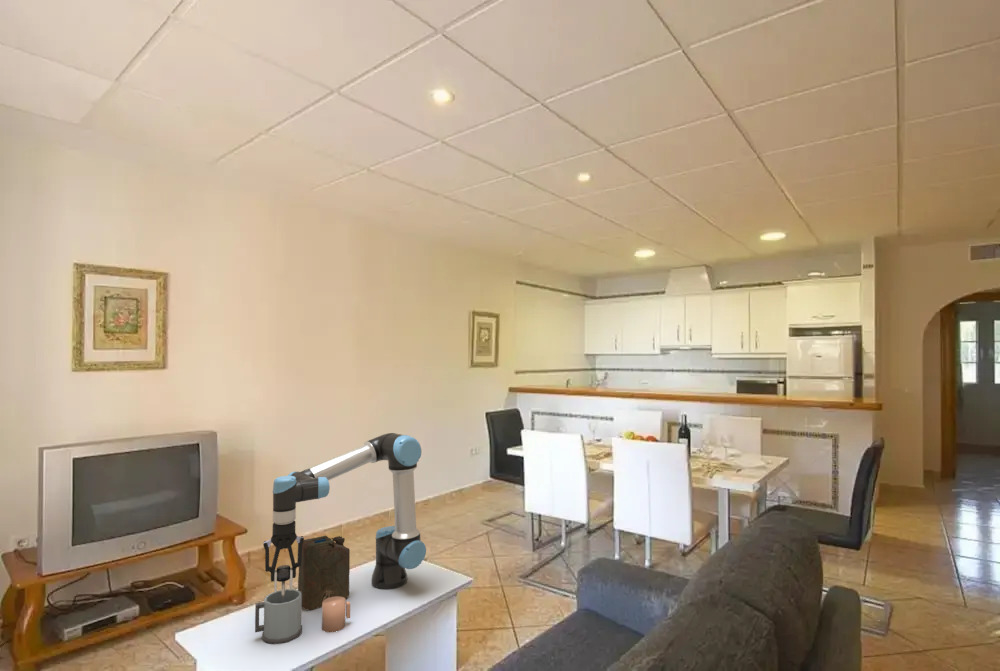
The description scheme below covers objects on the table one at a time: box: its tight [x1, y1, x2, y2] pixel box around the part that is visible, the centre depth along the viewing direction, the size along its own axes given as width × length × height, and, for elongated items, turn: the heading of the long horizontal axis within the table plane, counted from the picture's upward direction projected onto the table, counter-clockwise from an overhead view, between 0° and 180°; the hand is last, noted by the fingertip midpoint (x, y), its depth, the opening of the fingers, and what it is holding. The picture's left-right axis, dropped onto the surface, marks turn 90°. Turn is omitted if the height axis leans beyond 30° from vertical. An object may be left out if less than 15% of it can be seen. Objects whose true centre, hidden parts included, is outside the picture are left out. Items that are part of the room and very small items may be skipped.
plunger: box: [276, 564, 291, 603], centre depth 187 cm, size 9×9×18 cm
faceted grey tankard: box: [254, 588, 303, 645], centre depth 186 cm, size 15×13×13 cm
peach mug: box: [321, 596, 351, 633], centre depth 192 cm, size 10×8×9 cm
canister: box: [297, 535, 351, 611], centre depth 212 cm, size 19×8×25 cm, turn 129°
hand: (283, 588), depth 187 cm, fingers closed on plunger, 4 cm apart
